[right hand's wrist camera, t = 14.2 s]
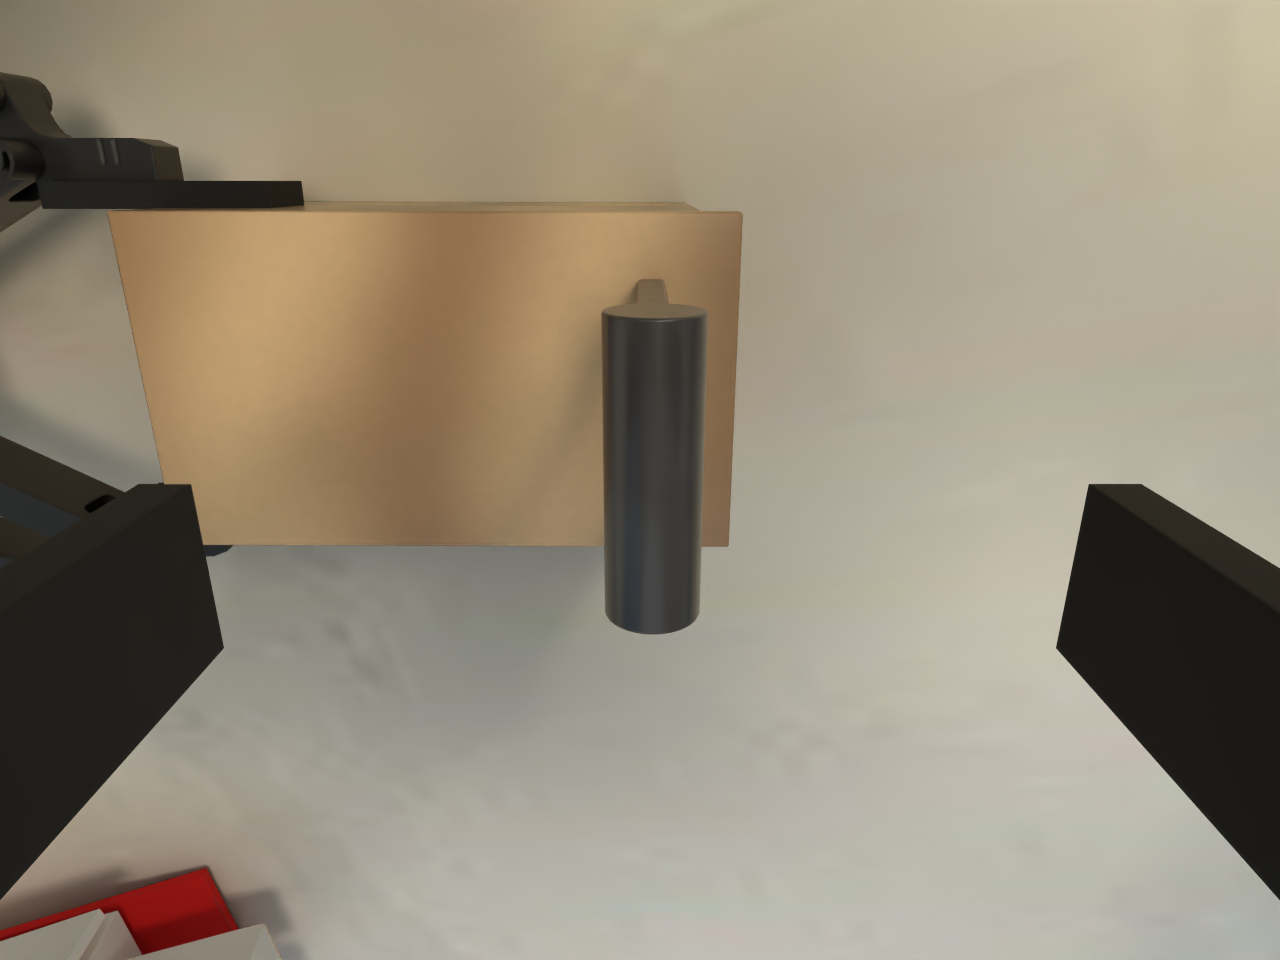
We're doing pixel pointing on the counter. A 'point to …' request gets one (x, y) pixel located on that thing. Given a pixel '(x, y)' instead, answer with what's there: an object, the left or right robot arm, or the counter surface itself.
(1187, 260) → the counter surface
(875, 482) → the counter surface
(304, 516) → the lid
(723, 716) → the counter surface
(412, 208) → the chest
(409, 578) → the counter surface
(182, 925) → the toy
